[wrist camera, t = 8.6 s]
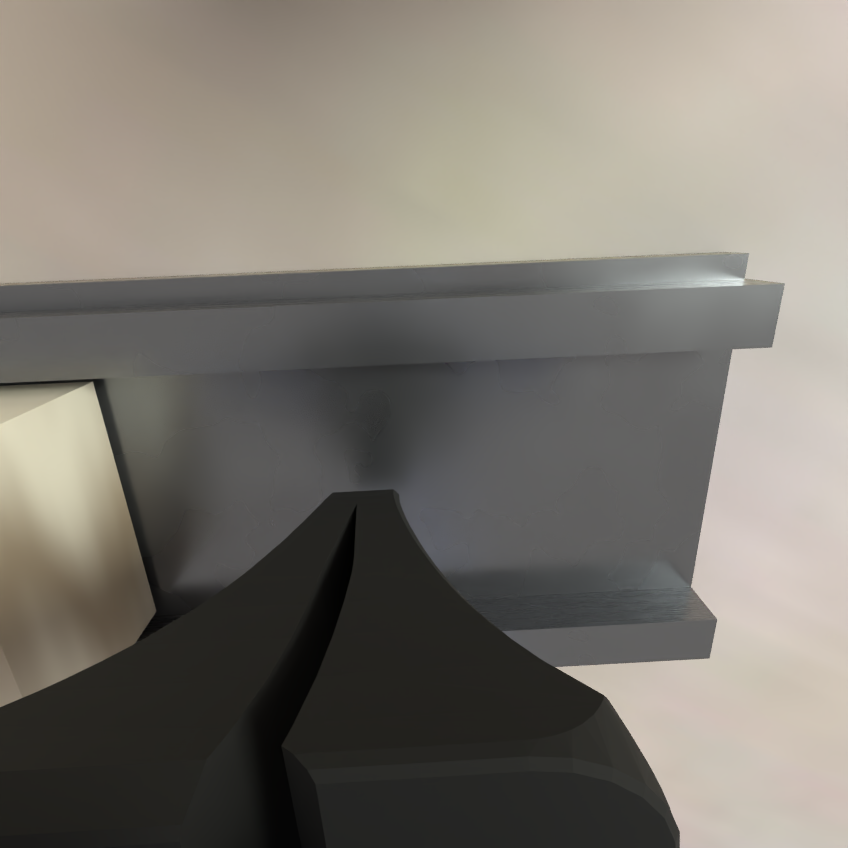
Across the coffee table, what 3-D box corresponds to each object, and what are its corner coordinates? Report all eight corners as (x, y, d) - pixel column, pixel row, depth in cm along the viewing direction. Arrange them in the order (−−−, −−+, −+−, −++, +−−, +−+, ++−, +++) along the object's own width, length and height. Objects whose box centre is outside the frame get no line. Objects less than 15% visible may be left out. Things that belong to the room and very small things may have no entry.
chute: (667, 617, 15) (712, 683, 12) (-106, 659, 14) (-197, 735, 12) (725, 252, 11) (802, 256, 9) (-295, 296, 11) (-470, 312, 9)
